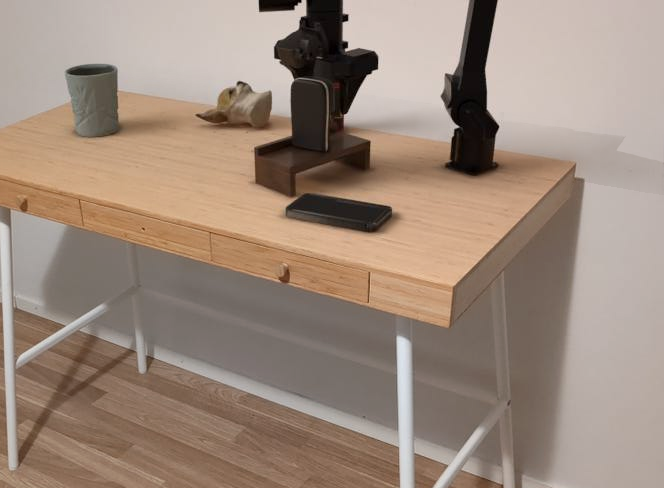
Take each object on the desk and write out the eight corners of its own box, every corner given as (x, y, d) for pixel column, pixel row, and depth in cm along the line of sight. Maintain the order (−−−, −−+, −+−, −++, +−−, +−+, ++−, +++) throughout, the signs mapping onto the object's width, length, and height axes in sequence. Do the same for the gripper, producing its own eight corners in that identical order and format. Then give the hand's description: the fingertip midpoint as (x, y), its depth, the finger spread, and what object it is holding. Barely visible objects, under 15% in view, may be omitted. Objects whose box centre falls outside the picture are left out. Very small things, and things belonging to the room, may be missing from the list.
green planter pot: (63, 134, 179) (54, 73, 173) (94, 120, 186) (87, 60, 180) (103, 140, 174) (95, 77, 168) (134, 125, 181) (127, 65, 175)
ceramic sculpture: (256, 89, 167) (190, 86, 174) (259, 135, 171) (195, 130, 179) (284, 75, 174) (219, 73, 182) (286, 120, 179) (223, 116, 186)
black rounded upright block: (337, 147, 149) (338, 77, 143) (324, 154, 146) (325, 83, 140) (303, 140, 152) (302, 72, 146) (289, 146, 150) (288, 77, 144)
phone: (374, 225, 130) (282, 209, 137) (373, 232, 131) (283, 215, 138) (394, 206, 136) (306, 191, 143) (394, 213, 136) (306, 198, 143)
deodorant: (342, 135, 169) (343, 54, 161) (310, 135, 170) (310, 54, 162) (345, 126, 174) (346, 46, 166) (314, 125, 175) (314, 46, 167)
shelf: (369, 169, 153) (371, 133, 150) (290, 197, 144) (289, 160, 141) (333, 156, 159) (333, 122, 156) (255, 183, 151) (253, 147, 147)
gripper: (246, 10, 142) (250, 108, 150) (328, 25, 129) (328, 132, 137) (299, -1, 147) (300, 94, 155) (382, 12, 134) (379, 115, 142)
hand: (324, 108), depth 147 cm, fingers open, 9 cm apart
